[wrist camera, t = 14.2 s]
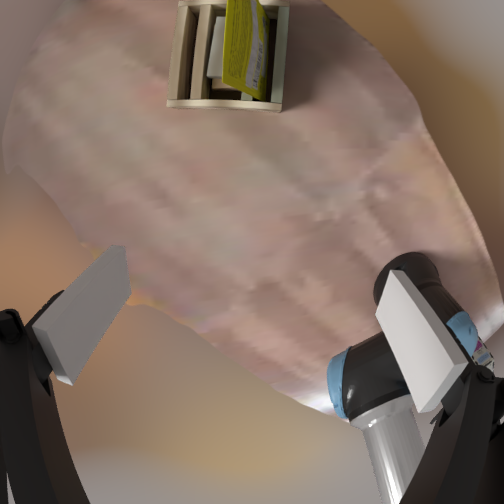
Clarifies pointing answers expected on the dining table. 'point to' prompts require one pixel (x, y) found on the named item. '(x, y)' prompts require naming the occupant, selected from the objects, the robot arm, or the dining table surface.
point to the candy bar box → (483, 356)
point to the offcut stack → (218, 58)
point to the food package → (246, 47)
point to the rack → (207, 10)
